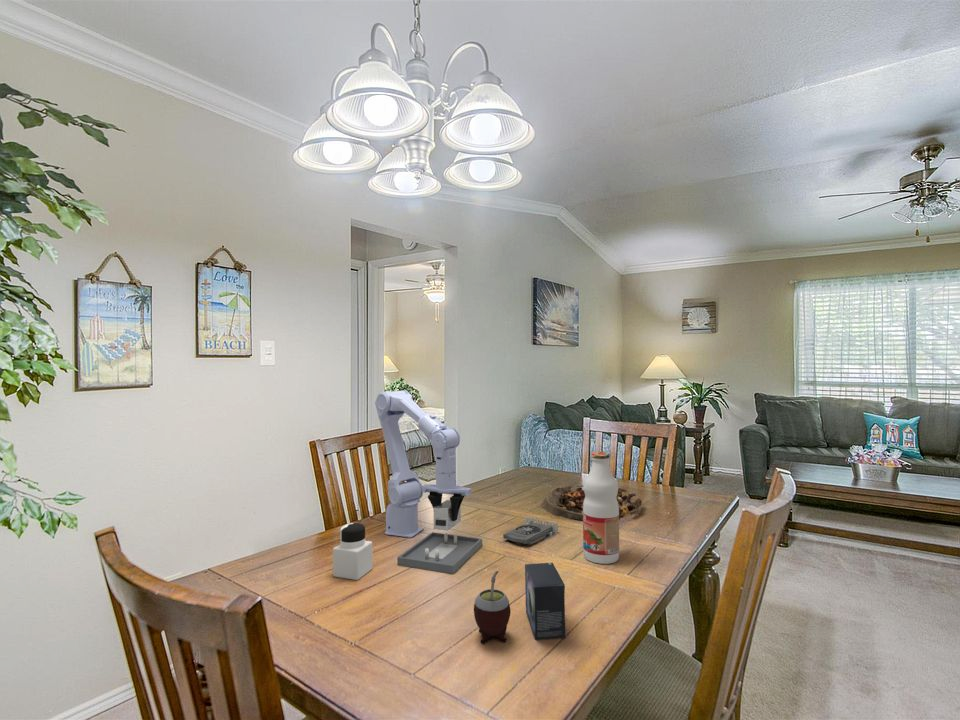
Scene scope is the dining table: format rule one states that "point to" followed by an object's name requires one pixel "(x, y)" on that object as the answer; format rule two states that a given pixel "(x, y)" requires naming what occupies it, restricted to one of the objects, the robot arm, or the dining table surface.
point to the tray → (440, 552)
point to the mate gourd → (492, 613)
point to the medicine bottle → (352, 553)
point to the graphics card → (532, 531)
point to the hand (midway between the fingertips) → (446, 519)
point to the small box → (545, 601)
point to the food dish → (572, 503)
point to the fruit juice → (600, 512)
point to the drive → (445, 516)
